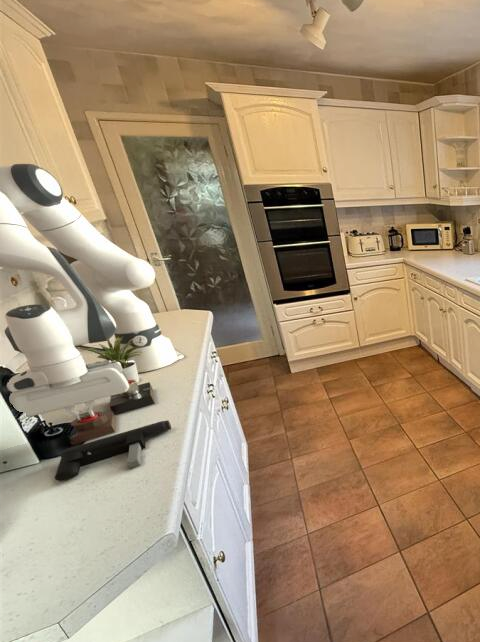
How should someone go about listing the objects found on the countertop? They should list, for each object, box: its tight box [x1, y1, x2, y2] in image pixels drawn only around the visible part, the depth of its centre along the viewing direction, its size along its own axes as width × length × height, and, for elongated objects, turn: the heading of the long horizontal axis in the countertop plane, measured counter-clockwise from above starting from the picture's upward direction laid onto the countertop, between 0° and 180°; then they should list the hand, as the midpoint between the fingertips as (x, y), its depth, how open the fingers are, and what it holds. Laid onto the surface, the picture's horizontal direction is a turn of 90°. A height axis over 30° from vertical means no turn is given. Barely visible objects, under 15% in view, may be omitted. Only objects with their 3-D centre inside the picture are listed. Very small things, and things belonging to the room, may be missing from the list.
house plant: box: [80, 337, 145, 384], centre depth 126 cm, size 14×14×16 cm
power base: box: [70, 410, 117, 446], centre depth 104 cm, size 10×8×4 cm
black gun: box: [54, 419, 172, 482], centre depth 93 cm, size 3×20×16 cm
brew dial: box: [120, 380, 140, 397], centre depth 116 cm, size 4×4×4 cm
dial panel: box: [109, 381, 156, 416], centre depth 118 cm, size 12×9×3 cm
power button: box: [79, 414, 99, 423], centre depth 103 cm, size 4×4×2 cm
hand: (86, 417), depth 103 cm, fingers closed, pressing on power button
